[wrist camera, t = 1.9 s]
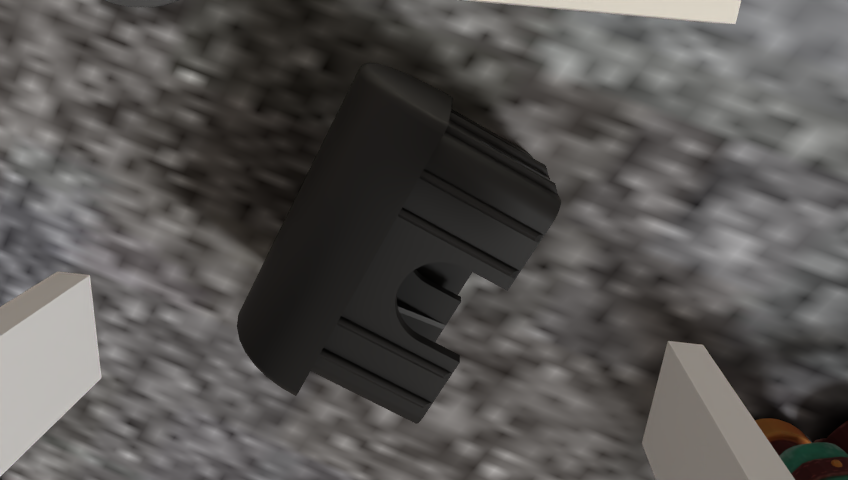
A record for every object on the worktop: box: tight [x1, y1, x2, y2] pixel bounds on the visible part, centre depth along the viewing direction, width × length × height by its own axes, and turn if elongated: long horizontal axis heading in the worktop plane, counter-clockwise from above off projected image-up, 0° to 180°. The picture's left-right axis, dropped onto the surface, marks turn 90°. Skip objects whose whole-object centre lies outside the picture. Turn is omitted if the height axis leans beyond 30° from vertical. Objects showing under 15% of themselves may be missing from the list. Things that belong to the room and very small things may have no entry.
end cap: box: [237, 63, 561, 423], centre depth 21 cm, size 10×7×7 cm
